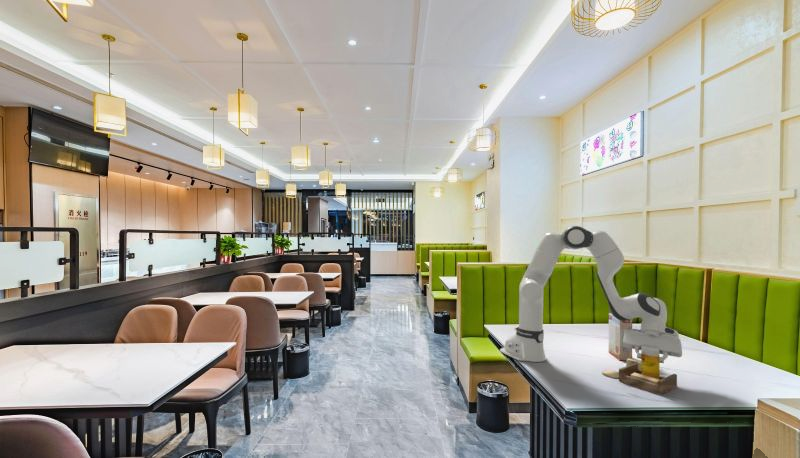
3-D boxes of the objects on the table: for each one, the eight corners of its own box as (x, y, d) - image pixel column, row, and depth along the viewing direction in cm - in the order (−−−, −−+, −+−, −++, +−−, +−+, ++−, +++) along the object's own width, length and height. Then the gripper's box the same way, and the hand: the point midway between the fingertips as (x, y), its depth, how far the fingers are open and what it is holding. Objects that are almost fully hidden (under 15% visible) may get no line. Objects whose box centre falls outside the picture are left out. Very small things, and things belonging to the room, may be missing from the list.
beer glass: (637, 379, 144) (637, 343, 144) (651, 379, 144) (651, 343, 145) (649, 385, 138) (649, 348, 138) (663, 385, 138) (663, 348, 139)
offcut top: (629, 365, 162) (626, 366, 160) (629, 358, 162) (626, 359, 160) (643, 369, 157) (640, 370, 155) (643, 362, 157) (640, 363, 155)
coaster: (598, 373, 150) (598, 372, 150) (607, 370, 154) (607, 369, 154) (618, 380, 143) (618, 378, 143) (627, 376, 147) (627, 375, 147)
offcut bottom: (630, 384, 139) (630, 374, 140) (634, 382, 142) (634, 372, 142) (657, 392, 132) (657, 381, 132) (660, 389, 135) (660, 379, 135)
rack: (618, 381, 142) (618, 368, 142) (635, 374, 150) (635, 363, 150) (661, 395, 129) (661, 381, 130) (677, 387, 137) (676, 374, 137)
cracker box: (633, 362, 166) (632, 318, 167) (619, 360, 168) (619, 317, 169) (620, 353, 180) (620, 313, 181) (608, 352, 181) (608, 312, 182)
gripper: (623, 323, 154) (619, 349, 146) (682, 332, 140) (681, 361, 133) (625, 331, 157) (621, 358, 150) (683, 340, 143) (682, 370, 136)
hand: (650, 360), depth 141 cm, fingers closed on beer glass, 6 cm apart
